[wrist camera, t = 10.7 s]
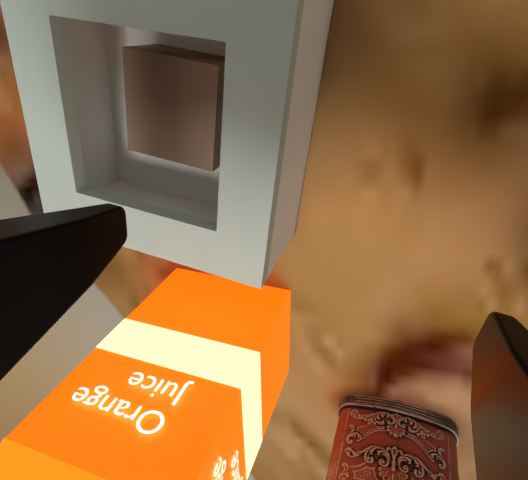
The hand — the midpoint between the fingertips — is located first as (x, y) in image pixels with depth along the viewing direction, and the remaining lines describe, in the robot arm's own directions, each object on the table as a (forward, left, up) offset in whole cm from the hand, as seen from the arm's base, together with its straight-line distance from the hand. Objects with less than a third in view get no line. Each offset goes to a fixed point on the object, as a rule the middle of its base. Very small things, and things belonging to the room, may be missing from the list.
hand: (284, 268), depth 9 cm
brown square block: (+9, 0, -12) cm, 15 cm away
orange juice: (+6, +15, -13) cm, 21 cm away
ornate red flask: (-7, +19, -13) cm, 24 cm away
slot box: (+9, 0, -13) cm, 16 cm away
